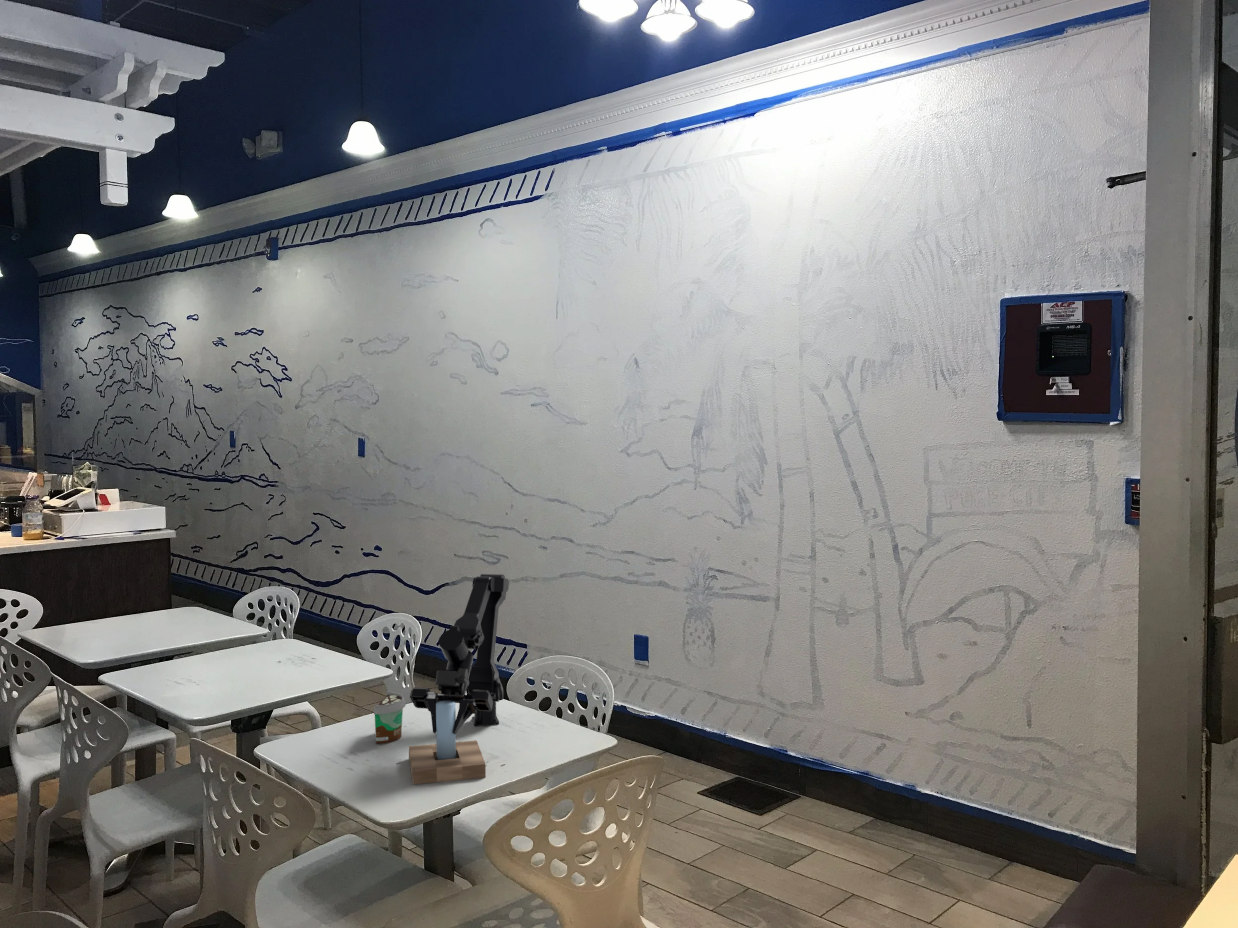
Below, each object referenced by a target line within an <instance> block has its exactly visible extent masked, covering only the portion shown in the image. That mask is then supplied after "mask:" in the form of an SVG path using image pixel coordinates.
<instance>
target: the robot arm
mask: <svg viewBox="0 0 1238 928" xmlns="http://www.w3.org/2000/svg"><path fill="white" fill-rule="evenodd" d="M509 584H510V581H509V579H508V578H506V576H505V574H501V573H500V574H498V573H496V574H494V573H491V574H490V573H481V574H480V576H479V575H478V576H475V577H473V580H472V589H471V592H470V594H469V598H468V600H467V603H466V606H465V609H464V613H463V614H462V616H460V617H459V618H458V619H456V620H455V622H454V625H450V627H449V629H447V630H446V631H444V632H443V633H441V634H440V636H439V638H438V644H439V647H440V649H441V652H442V653H443V656H444V658H445V660H446V661H448V662H447V664H446V669H444V670H437V671H436V677H435V683H434V684H435V686H437V689H438V691H440V693H437V692H432V691H431V690H430V687H425V686H424V687H419V686H414V687H413V688H412V689H411V690H410V694H409V699H410V700H411V702H412V704H413V706H414V707H415V708H417V709H425V710H426V709H427V711H429V713H430V715H431V717H430V719H431V726H432V733H433V734H436V703H438V702H440V701H454V702H455V704H458V710H457V713H456V714H457V715H456V721H455V724H454V729H453V733H454V734H456V735H457V733H458V731H459V730H460V729H461V728H462V726H463V725H464V724H465V722H467V721H468V719H469V718H470V717H471V716H472V715H474V716H472V717H471V721H472V723H473V725H474V727H476V726H477V727H479V726H481V727H482V726H491V725H499V724H500V720H499V718H498V716H497V702H498V703H499V701H504V687H503V684H502V683H501V679H500V677H499V676H500V675H499V674H500V672H499V671H498V669H497V666H496V664H495V654H496V653H495V652H496V644H497V643H496V641H497V630H498V621H499V619H498V618H499V610H500V607H501V606H502V604H503V603H504V602H505V600H506V596H507V592H508V591H509V586H510V585H509ZM476 649H477V651H476V660H475V662H474V655H473V652H471V650H476Z"/></svg>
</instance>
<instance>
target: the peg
mask: <svg viewBox="0 0 1238 928" xmlns="http://www.w3.org/2000/svg"><path fill="white" fill-rule="evenodd" d="M456 711H457V710H456V703H455V702H454V701H440V702H438V703H436V733H435V734H436V735H435V737H436V741H435V744H436V750H437V760H446V759H456V742H457V741H456V740H457V739H456V738H457V733H456V734H454V733H453V729H454V724H455V721H456V717H457V715H456V714H457V713H456Z"/></svg>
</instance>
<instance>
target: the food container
mask: <svg viewBox="0 0 1238 928" xmlns="http://www.w3.org/2000/svg"><path fill="white" fill-rule="evenodd" d="M385 694H386V695H385V697H384V698H382V699H381V700H380V702H379V704H377V705H374V707H373V715H374V726H375V727H374V728H375V729H374V731H375V733H374V734H375V744H376V745H382V744H383V745H384V744H385V745H386V744H389V743H390V744H391V743H393V742H396V741H398V740H400V739H401V738H402V729H403V728H402V727H403V712H404V709H405V707H406V701H405V698H404V696H403V694H401V693H398V692H393V691H386V693H385Z"/></svg>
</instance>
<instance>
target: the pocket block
mask: <svg viewBox="0 0 1238 928" xmlns="http://www.w3.org/2000/svg"><path fill="white" fill-rule="evenodd" d="M408 760H409V761H408V762H409V767H410V774H411V780H412V785H422V783H423V784H432V783H441V782H451V781H452V780H453V781H460V780H462V781H463V780H471V778H473V779H479V778H480V779H481V778H486V776H487V775H486V765H487V764H486V762H485V760H484V756H483V753H482V751H481V748H480V745H479V743H478V740H476V739H475V740H465V741H463V740H462V741H456V759H446V760H437V750H436V743H433V744H431V743H430V744H420V745H411V746H408ZM453 781H452V782H453Z"/></svg>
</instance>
